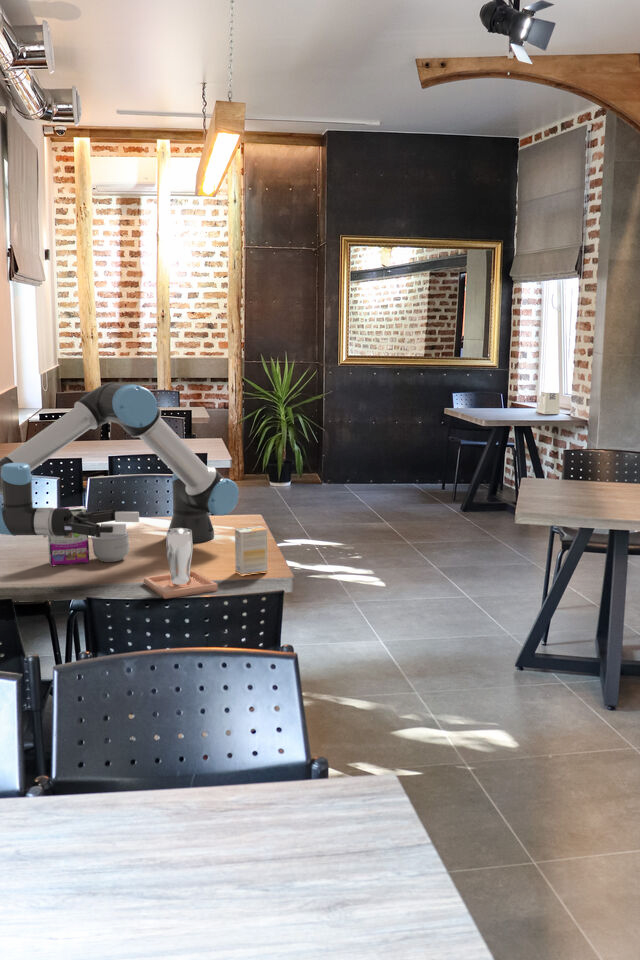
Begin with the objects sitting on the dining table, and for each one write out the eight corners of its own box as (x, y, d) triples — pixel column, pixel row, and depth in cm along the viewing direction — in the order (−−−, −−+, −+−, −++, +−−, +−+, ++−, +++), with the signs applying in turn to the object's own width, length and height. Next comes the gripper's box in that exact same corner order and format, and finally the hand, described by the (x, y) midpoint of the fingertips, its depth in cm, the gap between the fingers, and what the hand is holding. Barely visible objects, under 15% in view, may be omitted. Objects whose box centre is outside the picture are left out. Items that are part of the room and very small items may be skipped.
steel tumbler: (171, 590, 238) (170, 534, 235) (163, 583, 244) (162, 529, 242) (196, 586, 241) (196, 532, 239) (188, 580, 247) (187, 526, 245)
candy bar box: (86, 559, 269) (85, 505, 266) (89, 563, 265) (88, 508, 262) (48, 562, 265) (46, 507, 262) (50, 566, 260) (48, 511, 257)
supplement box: (261, 569, 261) (261, 525, 259) (267, 573, 257) (268, 529, 255) (234, 572, 258) (234, 528, 255) (240, 577, 253) (240, 531, 251)
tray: (194, 576, 253) (194, 570, 253) (217, 590, 240) (217, 584, 240) (143, 583, 245) (143, 577, 245) (164, 598, 233) (164, 592, 232)
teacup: (120, 565, 263) (119, 539, 262) (85, 563, 265) (84, 536, 264) (139, 553, 276) (138, 528, 275) (106, 551, 278) (105, 526, 277)
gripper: (70, 524, 256) (144, 525, 255) (39, 547, 231) (120, 548, 230) (68, 498, 254) (143, 499, 253) (37, 519, 230) (119, 520, 229)
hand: (132, 522), depth 242 cm, fingers open, 13 cm apart
